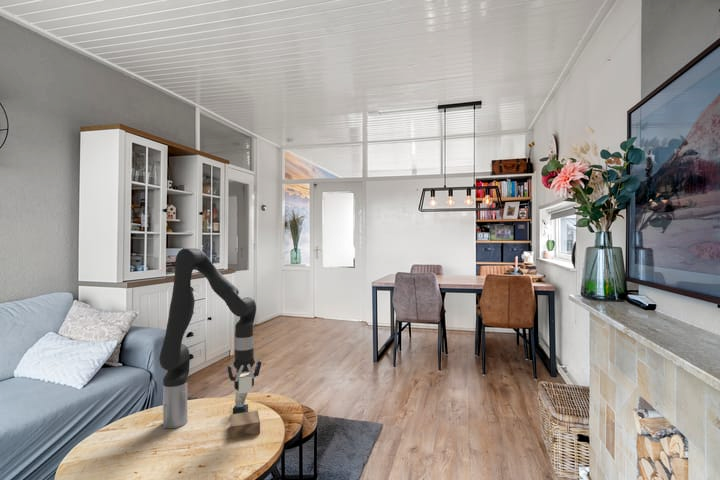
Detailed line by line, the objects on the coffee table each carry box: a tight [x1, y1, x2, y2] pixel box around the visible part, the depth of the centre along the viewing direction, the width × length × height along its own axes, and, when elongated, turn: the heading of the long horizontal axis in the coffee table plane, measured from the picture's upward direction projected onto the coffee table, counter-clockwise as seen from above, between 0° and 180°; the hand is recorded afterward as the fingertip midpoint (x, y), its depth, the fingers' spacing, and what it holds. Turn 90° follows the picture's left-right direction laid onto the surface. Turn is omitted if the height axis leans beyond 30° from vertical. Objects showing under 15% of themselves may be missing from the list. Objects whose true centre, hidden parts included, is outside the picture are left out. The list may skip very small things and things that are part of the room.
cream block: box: [236, 372, 253, 394], centre depth 153 cm, size 5×5×6 cm
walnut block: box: [230, 410, 261, 439], centre depth 154 cm, size 11×11×5 cm
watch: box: [232, 390, 249, 414], centre depth 168 cm, size 6×8×11 cm
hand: (244, 388), depth 153 cm, fingers closed on cream block, 5 cm apart
